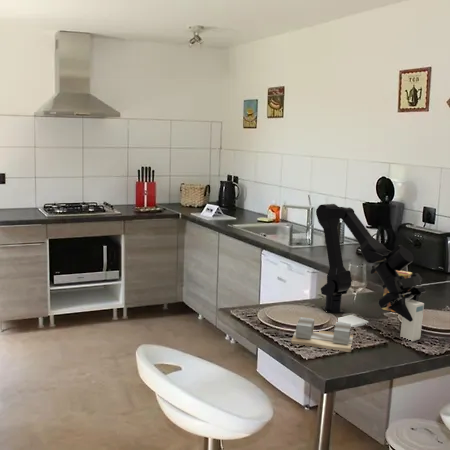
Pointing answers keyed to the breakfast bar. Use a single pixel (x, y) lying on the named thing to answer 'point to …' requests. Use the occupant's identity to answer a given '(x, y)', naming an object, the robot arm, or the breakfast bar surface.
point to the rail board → (323, 336)
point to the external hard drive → (352, 320)
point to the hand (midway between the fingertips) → (415, 319)
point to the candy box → (401, 273)
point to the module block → (414, 327)
